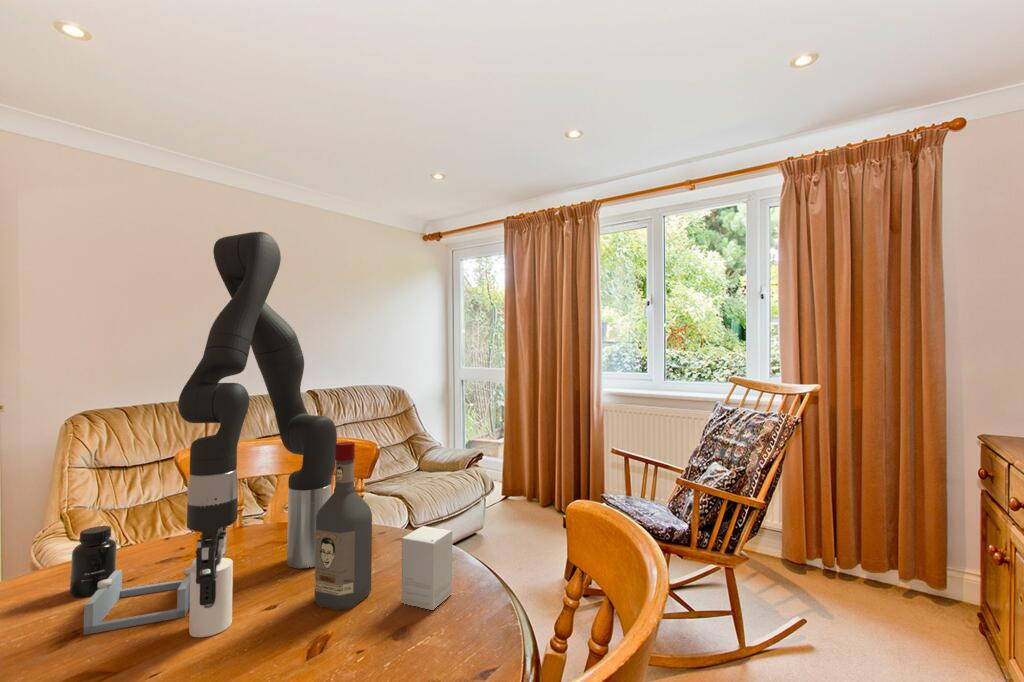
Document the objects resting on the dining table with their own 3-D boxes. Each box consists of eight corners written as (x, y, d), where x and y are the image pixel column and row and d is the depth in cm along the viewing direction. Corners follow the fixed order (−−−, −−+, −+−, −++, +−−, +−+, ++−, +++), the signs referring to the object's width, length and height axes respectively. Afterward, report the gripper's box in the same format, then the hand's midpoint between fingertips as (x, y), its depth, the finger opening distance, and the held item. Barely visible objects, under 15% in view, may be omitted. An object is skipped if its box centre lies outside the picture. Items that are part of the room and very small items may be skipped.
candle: (186, 642, 79) (188, 550, 79) (191, 622, 84) (193, 536, 85) (230, 631, 82) (232, 543, 82) (232, 613, 87) (234, 530, 88)
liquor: (339, 583, 99) (341, 438, 100) (377, 590, 96) (378, 441, 97) (307, 605, 91) (309, 446, 92) (347, 613, 88) (349, 449, 89)
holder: (202, 582, 100) (203, 554, 100) (187, 616, 87) (188, 583, 87) (111, 596, 93) (112, 566, 94) (80, 635, 81) (81, 600, 81)
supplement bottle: (88, 600, 92) (90, 537, 93) (60, 596, 94) (62, 534, 94) (124, 583, 99) (125, 525, 99) (97, 580, 100) (99, 522, 101)
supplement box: (453, 594, 95) (454, 530, 95) (432, 612, 88) (432, 543, 88) (422, 587, 98) (423, 524, 98) (399, 604, 91) (400, 537, 92)
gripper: (232, 506, 78) (230, 609, 78) (242, 484, 92) (240, 573, 91) (177, 512, 75) (175, 620, 75) (196, 488, 89) (194, 580, 88)
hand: (211, 593), depth 83 cm, fingers closed on candle, 6 cm apart
